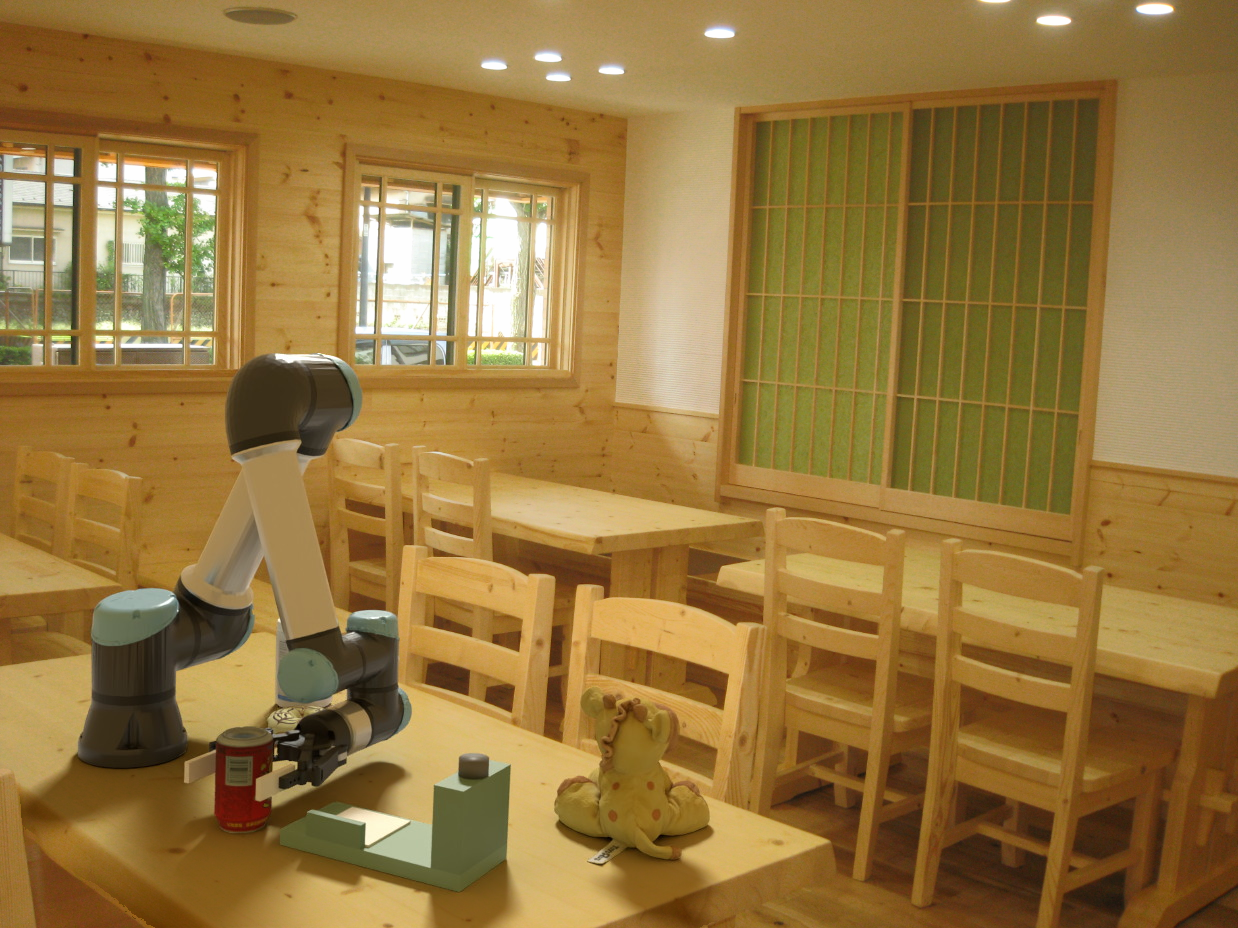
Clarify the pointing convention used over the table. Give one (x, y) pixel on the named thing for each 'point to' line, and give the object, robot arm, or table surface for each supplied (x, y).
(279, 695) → the supplement tub
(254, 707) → the table surface
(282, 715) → the decorated donut
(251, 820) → the soda can
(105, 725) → the robot arm
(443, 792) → the green stepped fixture
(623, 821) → the giraffe plush
